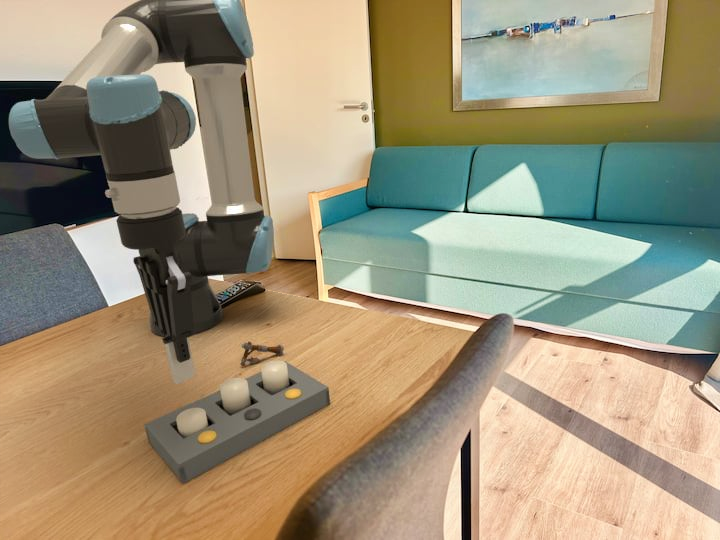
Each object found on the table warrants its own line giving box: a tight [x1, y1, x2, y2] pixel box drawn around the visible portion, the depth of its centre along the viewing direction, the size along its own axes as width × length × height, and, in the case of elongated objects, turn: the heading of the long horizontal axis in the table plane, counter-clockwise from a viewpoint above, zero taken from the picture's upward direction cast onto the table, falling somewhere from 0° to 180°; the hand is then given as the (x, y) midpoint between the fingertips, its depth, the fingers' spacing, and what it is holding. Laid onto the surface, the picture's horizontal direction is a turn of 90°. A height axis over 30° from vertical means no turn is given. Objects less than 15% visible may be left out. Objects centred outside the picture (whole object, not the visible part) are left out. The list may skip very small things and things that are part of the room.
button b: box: [219, 377, 252, 416], centre depth 77 cm, size 4×4×4 cm
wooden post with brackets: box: [240, 341, 285, 367], centre depth 95 cm, size 2×8×4 cm, turn 124°
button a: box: [176, 408, 209, 439], centre depth 73 cm, size 4×4×4 cm
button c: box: [260, 359, 291, 396], centre depth 81 cm, size 4×4×4 cm
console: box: [144, 360, 331, 485], centre depth 77 cm, size 12×24×3 cm, turn 131°
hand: (184, 378), depth 71 cm, fingers closed
